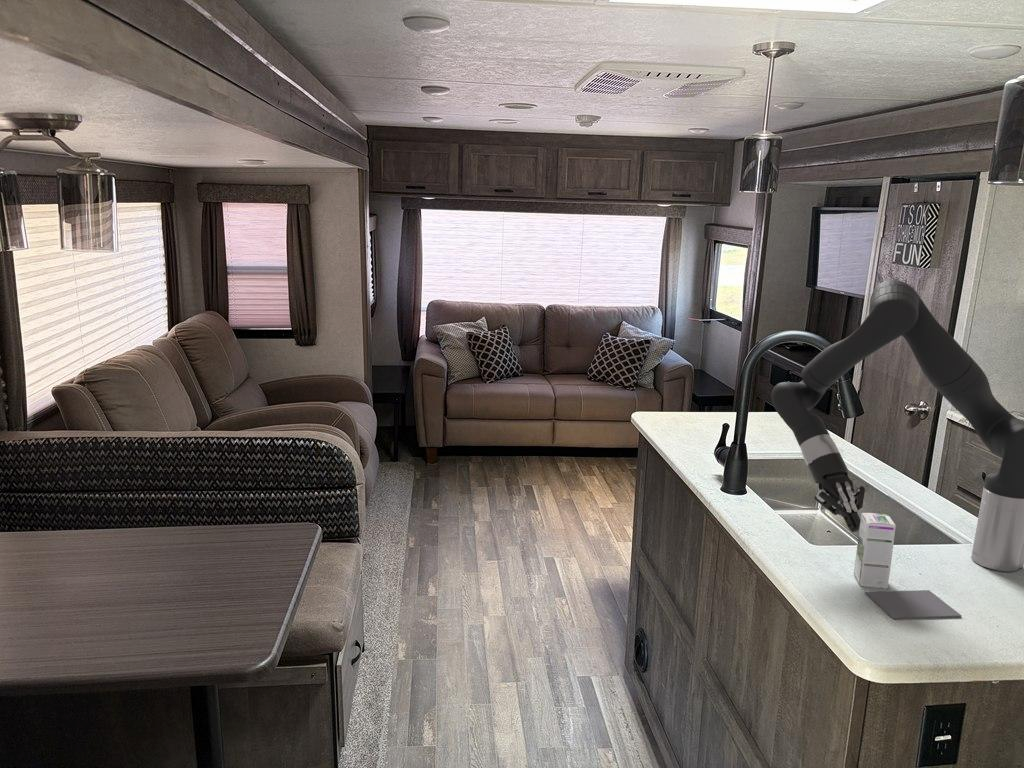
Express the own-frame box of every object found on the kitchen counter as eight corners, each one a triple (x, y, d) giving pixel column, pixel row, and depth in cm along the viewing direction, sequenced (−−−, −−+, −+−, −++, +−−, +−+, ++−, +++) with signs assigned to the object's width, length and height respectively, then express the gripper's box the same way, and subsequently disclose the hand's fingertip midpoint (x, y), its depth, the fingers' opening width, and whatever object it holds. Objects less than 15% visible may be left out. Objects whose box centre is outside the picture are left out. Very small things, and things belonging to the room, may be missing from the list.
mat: (928, 591, 157) (929, 590, 157) (961, 617, 148) (961, 615, 148) (865, 593, 156) (865, 591, 156) (893, 619, 146) (893, 617, 146)
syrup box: (888, 589, 158) (898, 524, 155) (858, 586, 159) (867, 521, 156) (881, 577, 163) (890, 514, 160) (852, 573, 165) (860, 511, 161)
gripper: (836, 463, 177) (869, 533, 169) (790, 468, 173) (823, 540, 164) (856, 448, 171) (892, 520, 163) (809, 453, 167) (844, 527, 158)
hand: (857, 530), depth 164 cm, fingers closed
